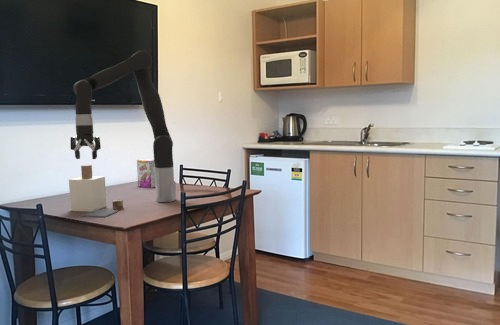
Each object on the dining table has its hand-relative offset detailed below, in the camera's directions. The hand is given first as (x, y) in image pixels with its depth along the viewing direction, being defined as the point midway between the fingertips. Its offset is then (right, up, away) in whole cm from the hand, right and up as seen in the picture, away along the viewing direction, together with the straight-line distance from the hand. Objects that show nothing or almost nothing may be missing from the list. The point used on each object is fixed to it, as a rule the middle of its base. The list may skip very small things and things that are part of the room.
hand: (86, 158), depth 217 cm
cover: (0, -24, +3) cm, 24 cm away
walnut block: (+14, -24, +1) cm, 28 cm away
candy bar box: (+14, -17, +64) cm, 67 cm away
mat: (+10, -25, -10) cm, 28 cm away
